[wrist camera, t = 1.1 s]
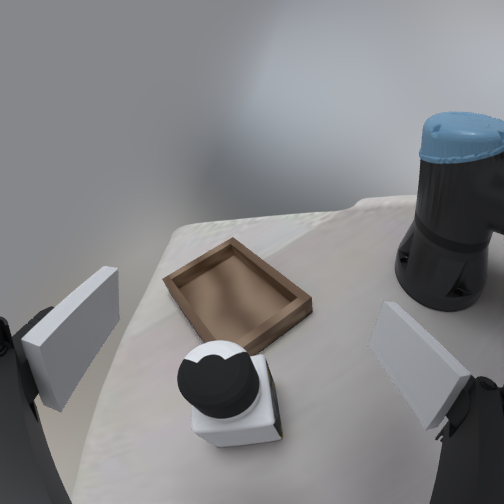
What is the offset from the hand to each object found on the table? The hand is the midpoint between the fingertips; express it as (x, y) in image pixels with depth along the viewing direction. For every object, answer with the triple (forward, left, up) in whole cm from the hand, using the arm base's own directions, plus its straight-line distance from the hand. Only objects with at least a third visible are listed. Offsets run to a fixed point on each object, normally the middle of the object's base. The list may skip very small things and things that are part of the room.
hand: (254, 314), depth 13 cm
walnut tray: (-5, -19, -20) cm, 28 cm away
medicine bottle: (+3, -4, -20) cm, 21 cm away
